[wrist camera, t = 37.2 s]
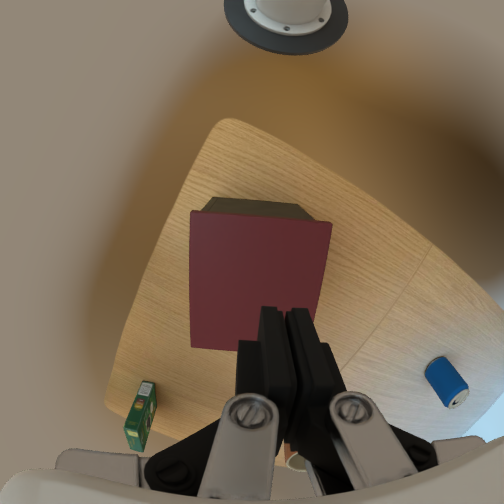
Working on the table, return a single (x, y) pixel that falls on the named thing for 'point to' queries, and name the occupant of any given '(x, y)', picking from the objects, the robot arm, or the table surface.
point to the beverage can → (447, 382)
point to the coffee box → (141, 417)
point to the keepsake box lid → (250, 272)
